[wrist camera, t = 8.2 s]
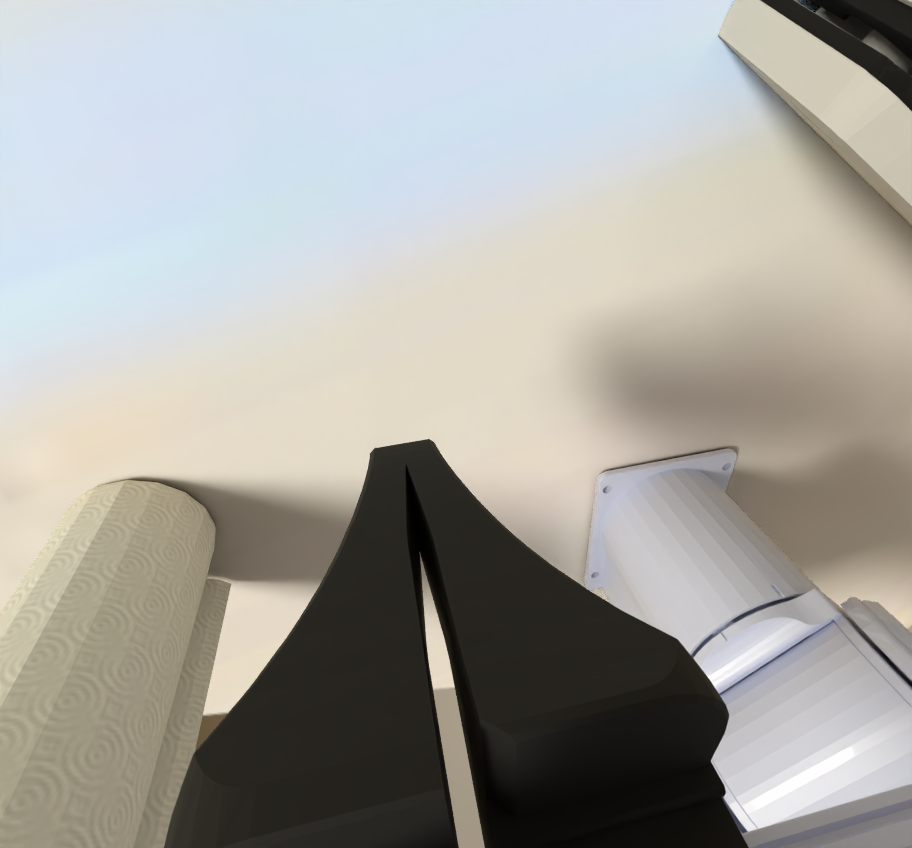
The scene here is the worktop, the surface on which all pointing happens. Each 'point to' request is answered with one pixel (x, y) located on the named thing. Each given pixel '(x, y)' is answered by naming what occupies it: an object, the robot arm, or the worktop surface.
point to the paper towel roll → (107, 670)
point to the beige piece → (839, 78)
